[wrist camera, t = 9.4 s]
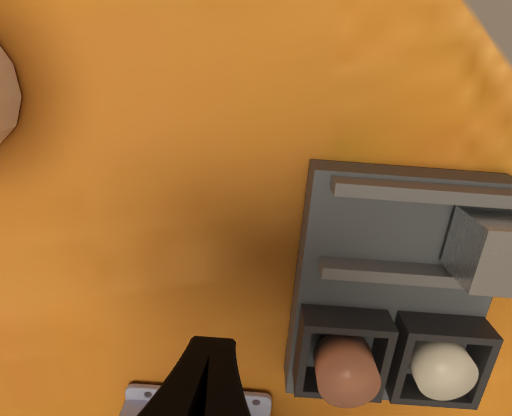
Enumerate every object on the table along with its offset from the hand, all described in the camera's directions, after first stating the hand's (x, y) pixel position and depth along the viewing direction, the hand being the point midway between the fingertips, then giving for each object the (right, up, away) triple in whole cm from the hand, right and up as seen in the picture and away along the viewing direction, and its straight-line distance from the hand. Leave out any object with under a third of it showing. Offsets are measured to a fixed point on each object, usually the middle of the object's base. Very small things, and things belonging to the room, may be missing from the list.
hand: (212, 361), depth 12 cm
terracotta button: (+6, -3, +8) cm, 10 cm away
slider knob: (+12, +4, +6) cm, 14 cm away
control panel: (+9, +1, +10) cm, 13 cm away
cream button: (+11, -3, +9) cm, 14 cm away
